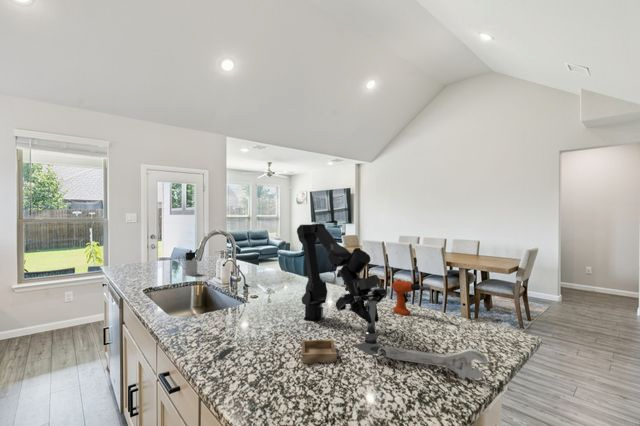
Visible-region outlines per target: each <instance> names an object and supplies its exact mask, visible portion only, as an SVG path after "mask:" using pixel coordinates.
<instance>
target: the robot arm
mask: <svg viewBox="0 0 640 426" xmlns="http://www.w3.org/2000/svg"><path fill="white" fill-rule="evenodd" d="M296 234H297V238H298V241H299V242H300V243H301V245H302V246H303V252H304V258H305V259H304V260H305V267H306V271H307V272H306V273H307V282H306V285H305V293H304V294H303V296H302V297H301V303H302V304H303V305H304V306H305V307H304V311H305V312H304V315H305V316H304V317H303V320H305V321H311V322H312V321H313V322H320V321H321V320H322V318H323V317H324V306H323V304H326V300H327V297H328V288H327V283H326V281H323V279H322V278H321V275H320V267H319V262H318V254H317V248H316V243H317V240H318V241H319V242H320V243H321V245H322V246H323V248H325V250H326V251H327V259H328V261H329V262H330V265H331V266H332V267H334V268H339V267H340V269H338V270H337V273H336V278H338V279H339V278H341V279H342V280H343V283H344V285H345V288H344V290H345V292H348V293H345V294H342V295H340V296H339V298H338V299H337V300H336V302H335V307H336V309H337V311H338V312H340V311H345V310H346V308H347V305H350V307H349V309H348V310H349V312H353V313H354V314H356V315H357V316H359V317H360V318H361V319H363V320H364V321H365V322H366V323H367V322H368V323H369V324H371V323H372V321H371V318H370V316H369V314H368V312H367V306H366V305H365V303H367V301H368V300H375V301H377V302H378V304H379V303H380V302H381V301H382V300H383V299H384V298H385V297H386V296H387V295H388V292H387V290H386V289H385V288H383V287H380V288H378V287H379V286H378V285H380V283H381V281H380V278H379V277H378V275H377V274H372V275H370V276H369V277H366V278H363V277H361V276H360V275H359V274H361V273H362V272H363V271H364V269H365V268H366V267H367V266H368V265H369V263H370V262H371V257H370V254H368V253H367V252H366V251H364V250H363V249H361V247H355V248H353V250H352V252H350V251H349V250H348V249H347V248H346V247H344V246H342V245H341V244H339V243H338V242H337V241H336V240H335V238H334V237H333V236H332V234H331V233H330V231H329V230H328V229H327V228H326V225H325V224H323V223H316V222H315V223H311V224H300V225H299V226H298V227H297V229H296ZM373 288H375V289H374V290H373V291H372V289H373ZM378 304H376V309H375V323H377V322H379V321H380V319H379V315H378V308H377V307H378V306H377V305H378Z"/></svg>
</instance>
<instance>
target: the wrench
mask: <svg viewBox="0 0 640 426" xmlns="http://www.w3.org/2000/svg"><path fill="white" fill-rule="evenodd" d="M381 346H382V347H380V348H379V349H378V353H377V355H378V356H380V355H382V352H381V349H384V350H385V351H384V352H385V356H384V357H385V358H390V359H393V360H399V361H404V362H410V363H416V364H417V363H418V364H424V365H425V364H426V365H430V366H431V365H433V366H438V367H445V368H446V369H449V370H451V371H453V372H454V373H456V374H457V377H458V378H459V379H462V380H463V381H465V379H466V378H468V379H480V378H484V376H485V373H484V372H482V371H481V370H479V369H476V368H475V367H473V366H472V363H471V362H473V361H474V360H477V361H479V362H481V363H483V364H485V365H488V362H489V360H488V358H487V356H486V355H485V354H484V353H483V352H481V351H480V350H478V349H475V348H467V349H464V350H461V351H458V352H454V353H448V354H444V353H443V354H442V353H434V352H429V351H420V350H414V349H407V348H399V347H393V346H385V345H381Z"/></svg>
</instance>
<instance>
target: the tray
mask: <svg viewBox="0 0 640 426" xmlns="http://www.w3.org/2000/svg"><path fill="white" fill-rule="evenodd" d="M337 355H338V353H337V349H336V346H335V343H334V339H305V340H304V339H301V364H318V363H322V362H323V363H327V362H328V363H329V362H332V363H333V362H337V359H338V358H337V357H338V356H337Z"/></svg>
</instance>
